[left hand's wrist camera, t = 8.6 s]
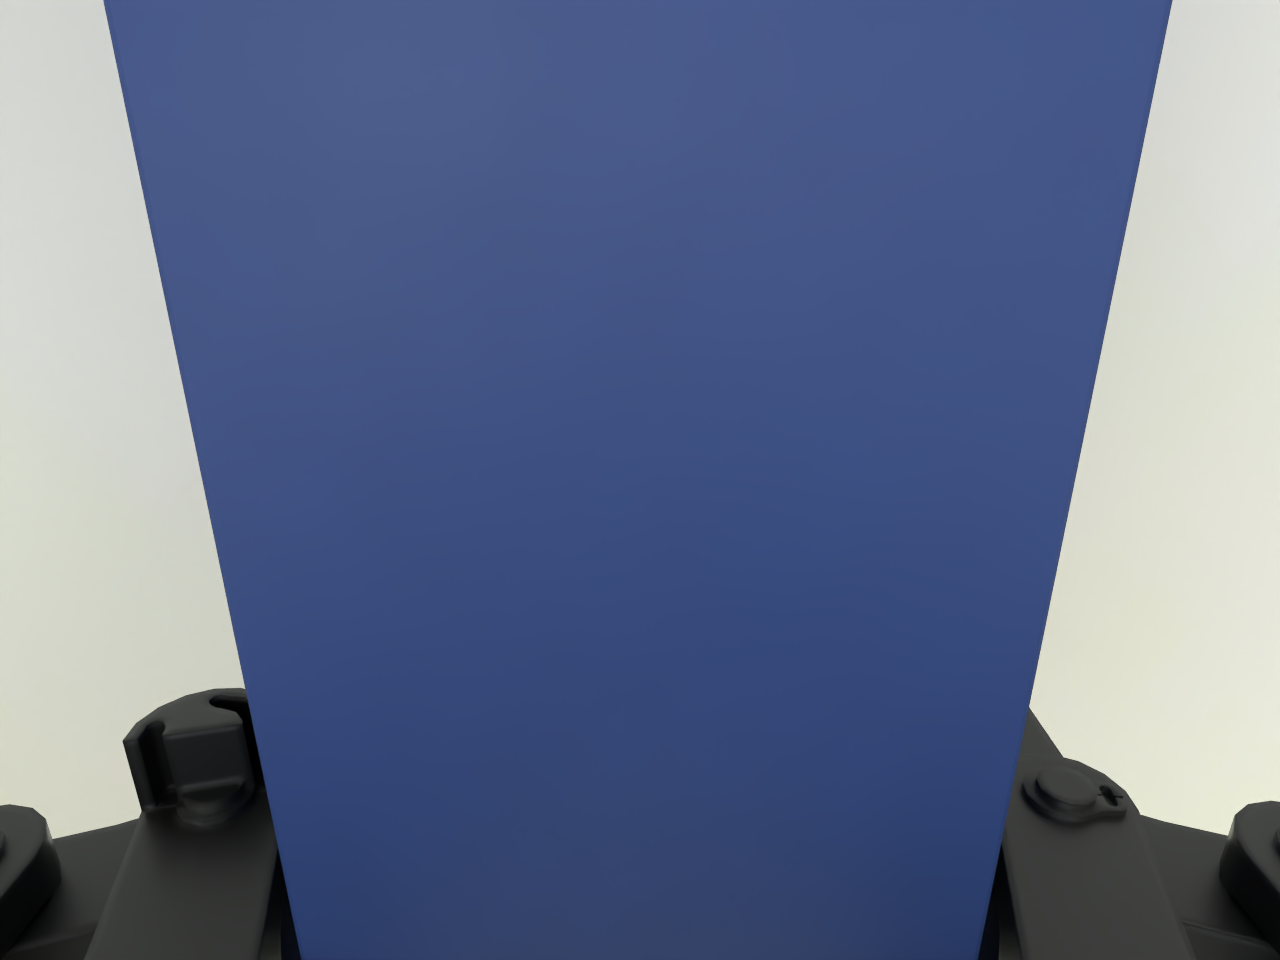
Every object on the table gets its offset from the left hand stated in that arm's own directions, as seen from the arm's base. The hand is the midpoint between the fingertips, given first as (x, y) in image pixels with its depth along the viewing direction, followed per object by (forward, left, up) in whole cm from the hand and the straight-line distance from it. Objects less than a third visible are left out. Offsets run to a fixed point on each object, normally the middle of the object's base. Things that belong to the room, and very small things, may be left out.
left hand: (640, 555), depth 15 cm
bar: (+11, 0, -1) cm, 11 cm away
